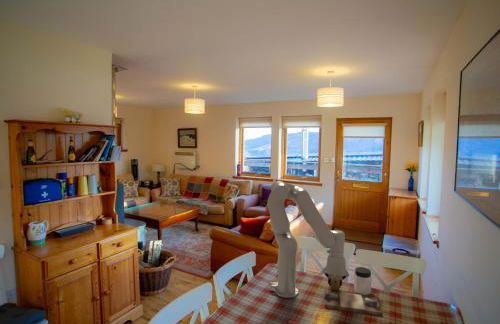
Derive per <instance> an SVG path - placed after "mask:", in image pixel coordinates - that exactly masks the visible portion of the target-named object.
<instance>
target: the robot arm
mask: <svg viewBox="0 0 500 324" xmlns="http://www.w3.org/2000/svg"><path fill="white" fill-rule="evenodd" d="M270 191H271V192H270V193H269V196H268V198H267V208H268V212H269V216H270V220H269V221H270V222H269V223H270V227H271V229H272V232H273V235H274V238H275V240H276V243H277V245H278V256H277V257H278V261H277V281H276V282H274V281H270V283H269V286H270V287H271V288H272V289H274V293H275V294H276V295H277V296H279V297H281V298H285V299H291V298H295V297H297V296H299V289H298V288H297V287H296V282H297V280H296V279H297V278H296V277H297V276H296V274H297V253H298V242H297V240H296V238H295V236H294V235H293V234H292V232H291V231H292V230H291V229H290V228H291V223H290V220H289V217H288V214H287V211H286V207H285V200H286V199H287V200H290V201H294V202H295V204H296V207H297V208H298V211H299V212H300V213H301V215H302V217H303V219H304V220H305V222H306V223H307V224H308V225H309V226H310V227H311V229H312V230H313V231H314V237H315V240H316V241H317V242H318V243H319V244H320V245H321V246H322V247H323V248H325V249H328V250H326V253H327V254H328V255H327V259H326V264H325V266H324V268H323V269H322V270H321V272H322V274H324V275H325V277H326V278H327V284H328V286H329V287H330V285H331V275H336V276H340V286H339V289H341V287H342V286H343V281H344V280H345V279H347V278H348V277H350V273H349V272H348V270H347V269H346V268H347V265H346V264H347V262H346V256H345V240H346V239H345V237H346V234H345V232H344V231H343V230H338V229H333V230H332V229H330V227H329V226H328V224H327V223H326V221H325V220H324V218H323V216H322V214H321V213H320V211H319V210H318V207H316V205H315V203H314V201H313V198H312V197H311V196H310V194H309V192H308V191H307V190H306V189H305V188H303V187H301V186H298V185H294V184H291V183H287V182H284V181H282V180H276V181H274V182H272V184H271V186H270Z"/></svg>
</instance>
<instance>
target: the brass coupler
mask: <svg viewBox="0 0 500 324" xmlns="http://www.w3.org/2000/svg"><path fill="white" fill-rule="evenodd" d="M339 286H340V276H336V275H331V285H330V286H329V287H330V289H331V290H336V291H340V288H339Z"/></svg>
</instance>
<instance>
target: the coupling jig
mask: <svg viewBox="0 0 500 324" xmlns="http://www.w3.org/2000/svg"><path fill="white" fill-rule="evenodd" d="M324 308H328V309H333V310H342V311H347V312H353V313H354V312H355V313H362V314H369V315H374V316H383V311H382V309H381V306H380V303H379V299H378V297H375V296H369V295H368V296H367V295H362V294H359V293H357V294H356V293H350V292H341V291H330V290H324Z"/></svg>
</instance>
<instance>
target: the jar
mask: <svg viewBox="0 0 500 324" xmlns="http://www.w3.org/2000/svg"><path fill="white" fill-rule="evenodd" d="M353 276H354V278H353V289H354V291H355V294H356V293H357V294H358V295H362V296H367V295H370V294H371V293H372V271H371V269H369V268H367V267H363V266H358V267H355V269H354V275H353Z"/></svg>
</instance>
